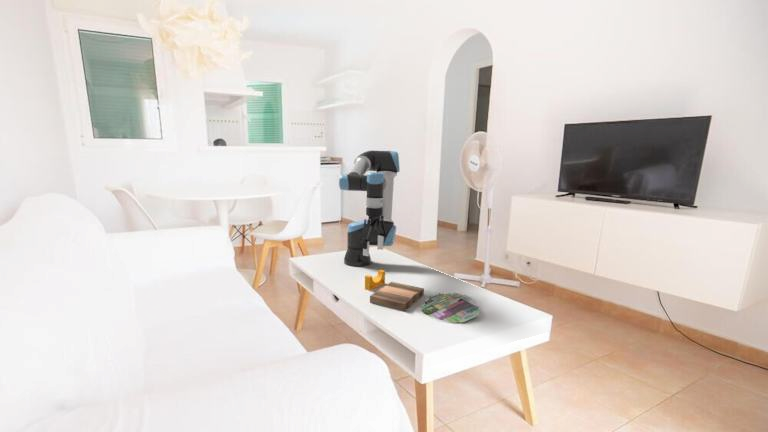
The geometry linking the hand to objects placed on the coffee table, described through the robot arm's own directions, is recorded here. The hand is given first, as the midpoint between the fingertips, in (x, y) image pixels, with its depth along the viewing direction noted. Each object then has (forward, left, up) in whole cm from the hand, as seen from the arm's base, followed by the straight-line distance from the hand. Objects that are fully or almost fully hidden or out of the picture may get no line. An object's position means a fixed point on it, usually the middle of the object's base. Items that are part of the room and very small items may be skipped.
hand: (373, 252), depth 172 cm
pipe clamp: (0, +1, -17) cm, 17 cm away
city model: (+8, +40, -17) cm, 44 cm away
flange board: (+8, +17, -16) cm, 25 cm away
